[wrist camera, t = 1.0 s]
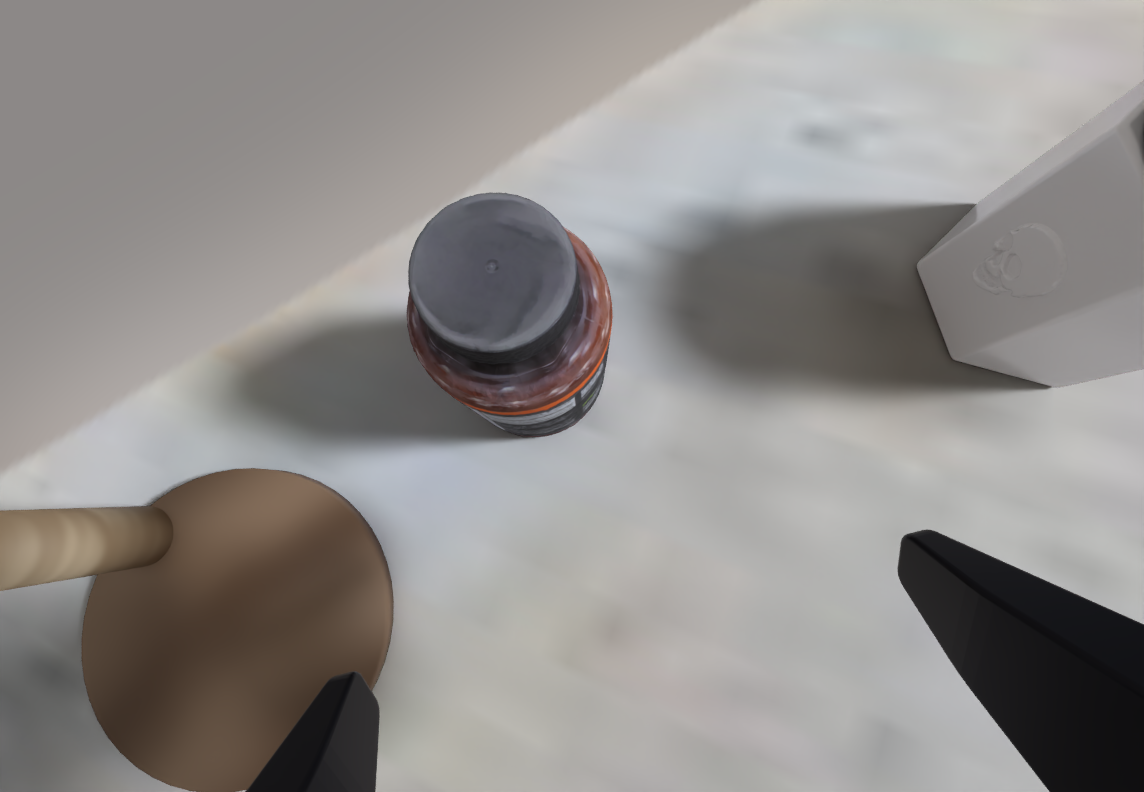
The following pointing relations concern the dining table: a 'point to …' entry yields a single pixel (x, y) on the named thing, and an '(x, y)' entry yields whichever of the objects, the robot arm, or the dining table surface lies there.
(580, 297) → the supplement bottle
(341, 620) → the flange plate
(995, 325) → the jar
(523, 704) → the dining table surface
